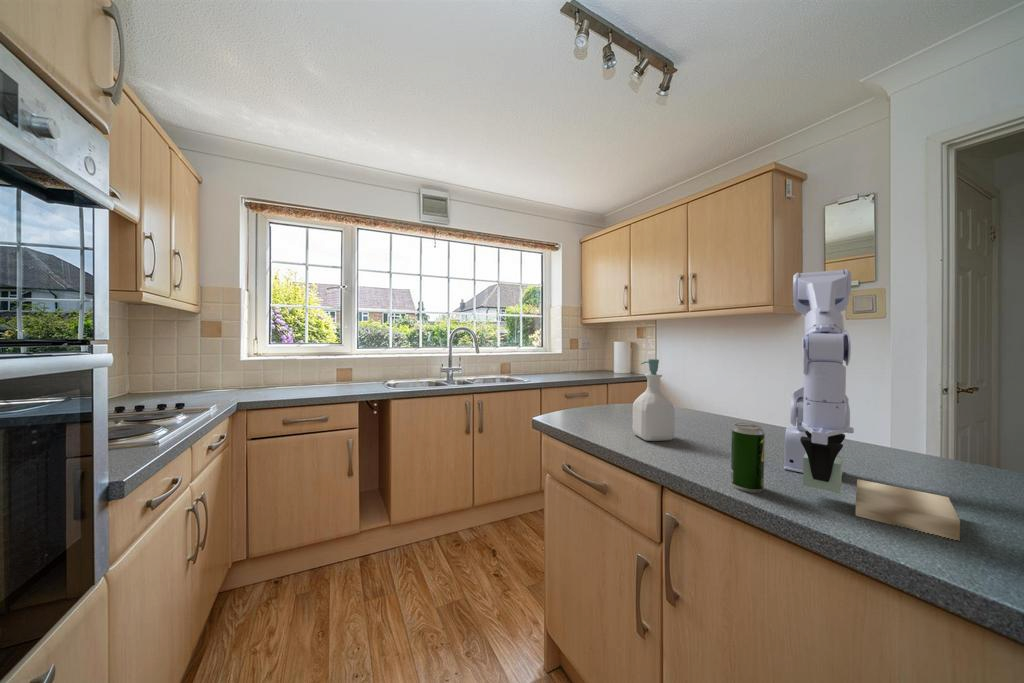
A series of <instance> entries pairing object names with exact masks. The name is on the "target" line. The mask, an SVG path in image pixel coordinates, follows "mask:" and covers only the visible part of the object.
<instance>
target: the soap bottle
mask: <svg viewBox="0 0 1024 683" xmlns="http://www.w3.org/2000/svg"><path fill="white" fill-rule="evenodd" d="M659 361H660V360H659V359H657V358H649V359H648V360H647V361H644V362H641V363H640V365H645V364H648V368H649V372H650V373H645V374H644V376H645V377H646V380H647V384H646V385H647V387H646V389H645V391H644V392H643V393H641V394H640V395H639V396H638V397H637V398H636V399H635V400H634V401H633V404H632V432H633V434H634V435H635V436H638V437H639V438H640V439H642V440H644V441H648V442H656V441H657V442H659V441H665V442H666V441H672V440H673V439H674V437H675V421H676V420H675V417H676V415H675V414H676V413H675V412H676V411H675V407H674V405H673V403H672V401H671V400H670V399H669V397H668V396H667V395H666V394H665V393H663V392H662V390H661V388H660V383H661V382H660V381H661V378H662V377H663V374H661V373H658V369H659V363H660V362H659Z"/></svg>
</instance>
